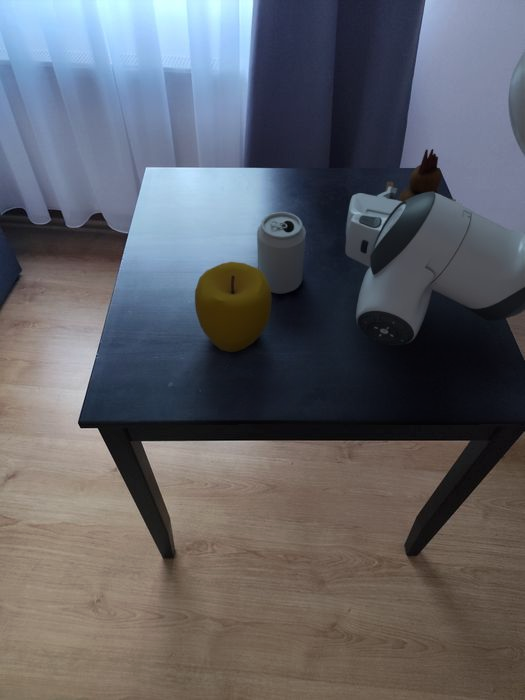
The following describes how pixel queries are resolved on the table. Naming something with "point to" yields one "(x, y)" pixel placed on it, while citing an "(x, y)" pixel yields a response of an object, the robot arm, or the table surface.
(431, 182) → the wooden figurine
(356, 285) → the table surface
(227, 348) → the apple
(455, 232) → the robot arm
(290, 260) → the can
